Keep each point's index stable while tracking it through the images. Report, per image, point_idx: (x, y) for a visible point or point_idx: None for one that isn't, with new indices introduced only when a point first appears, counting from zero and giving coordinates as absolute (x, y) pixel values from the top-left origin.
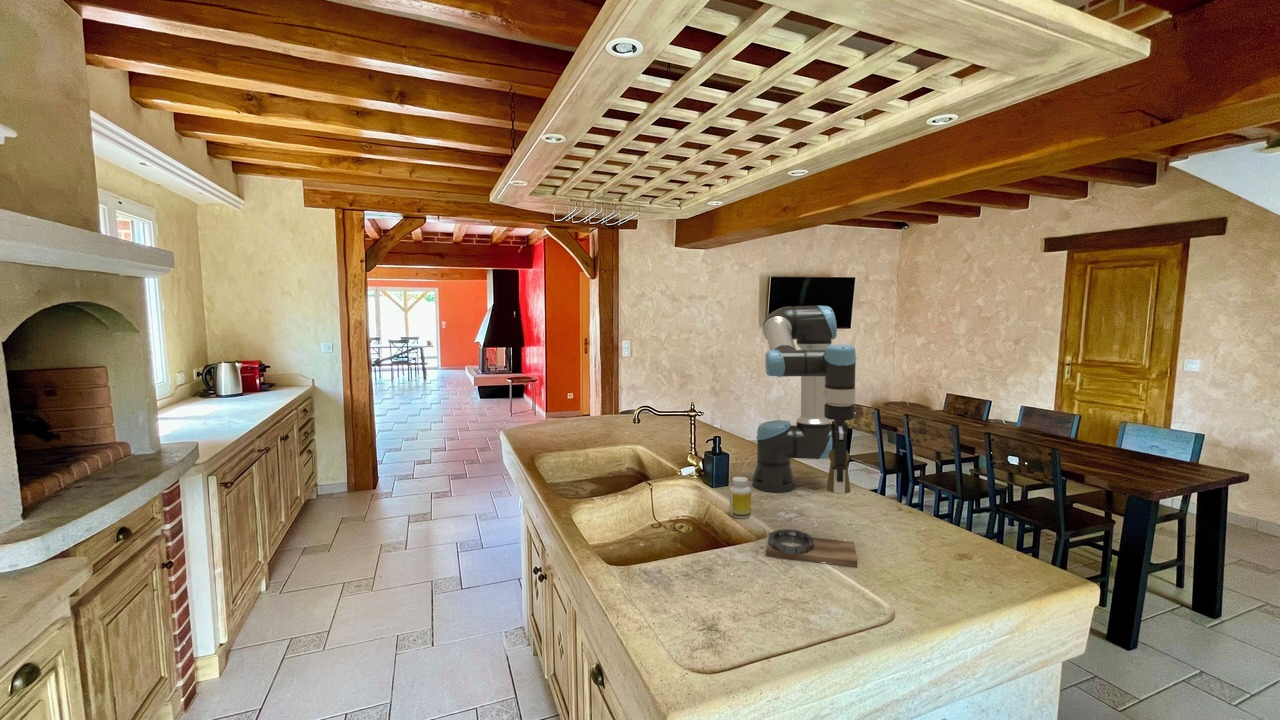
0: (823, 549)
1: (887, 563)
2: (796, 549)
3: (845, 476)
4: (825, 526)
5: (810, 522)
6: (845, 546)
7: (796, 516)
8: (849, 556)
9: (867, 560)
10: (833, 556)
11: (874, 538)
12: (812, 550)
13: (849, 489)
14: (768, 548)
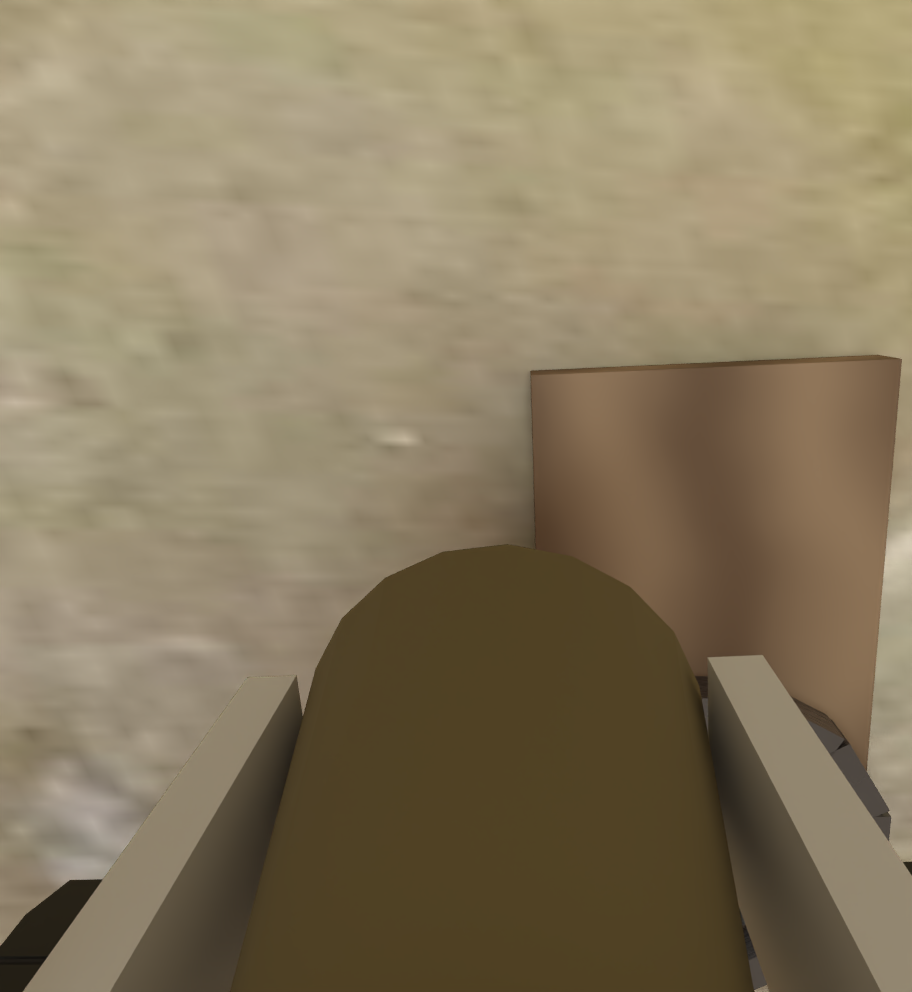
0: (739, 607)
1: (745, 114)
2: (881, 806)
3: (683, 834)
4: (195, 575)
5: (164, 680)
6: (637, 444)
7: (93, 775)
8: (820, 417)
9: (729, 273)
10: (847, 536)
11: (286, 198)
12: None
13: (574, 582)
14: None
